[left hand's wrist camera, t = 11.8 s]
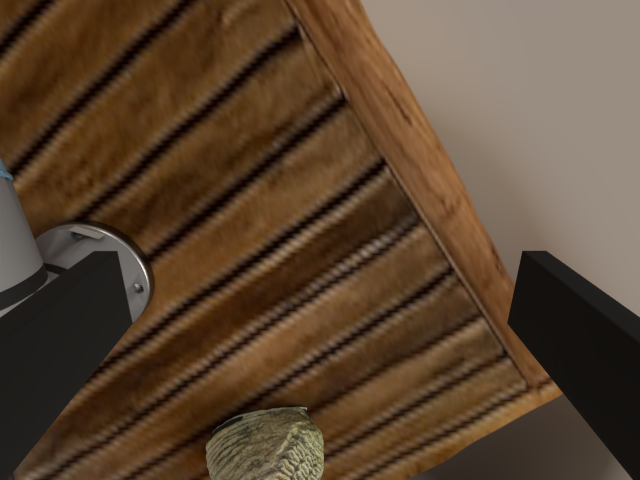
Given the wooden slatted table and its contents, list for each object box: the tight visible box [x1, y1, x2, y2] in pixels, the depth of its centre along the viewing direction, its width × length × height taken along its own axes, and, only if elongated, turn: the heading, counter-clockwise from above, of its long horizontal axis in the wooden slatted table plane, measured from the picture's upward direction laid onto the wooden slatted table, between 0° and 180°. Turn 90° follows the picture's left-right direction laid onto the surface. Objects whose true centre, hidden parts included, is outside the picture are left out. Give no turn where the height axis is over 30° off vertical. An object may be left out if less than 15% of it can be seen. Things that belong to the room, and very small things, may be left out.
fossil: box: [206, 407, 324, 480], centre depth 52 cm, size 9×18×15 cm, turn 121°
